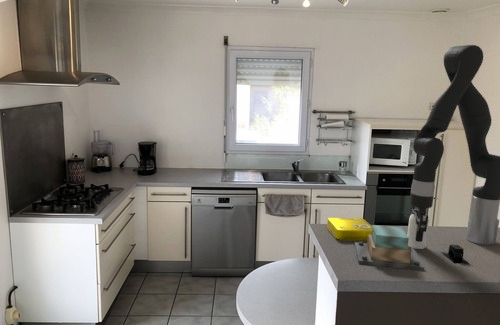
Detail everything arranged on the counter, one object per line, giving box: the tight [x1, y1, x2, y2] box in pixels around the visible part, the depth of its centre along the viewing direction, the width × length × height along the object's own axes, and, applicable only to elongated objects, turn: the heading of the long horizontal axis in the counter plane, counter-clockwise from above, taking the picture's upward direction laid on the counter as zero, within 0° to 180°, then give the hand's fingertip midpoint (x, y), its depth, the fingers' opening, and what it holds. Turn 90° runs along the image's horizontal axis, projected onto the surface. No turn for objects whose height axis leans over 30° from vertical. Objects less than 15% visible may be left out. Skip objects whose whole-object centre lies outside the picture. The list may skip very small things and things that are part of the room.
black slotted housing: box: [440, 244, 470, 265], centre depth 139 cm, size 12×7×5 cm, turn 1°
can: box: [406, 211, 430, 250], centre depth 147 cm, size 6×6×12 cm
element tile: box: [326, 217, 372, 242], centre depth 159 cm, size 15×15×5 cm
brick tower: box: [353, 224, 425, 271], centre depth 137 cm, size 20×16×9 cm
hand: (416, 237), depth 148 cm, fingers closed on can, 6 cm apart
